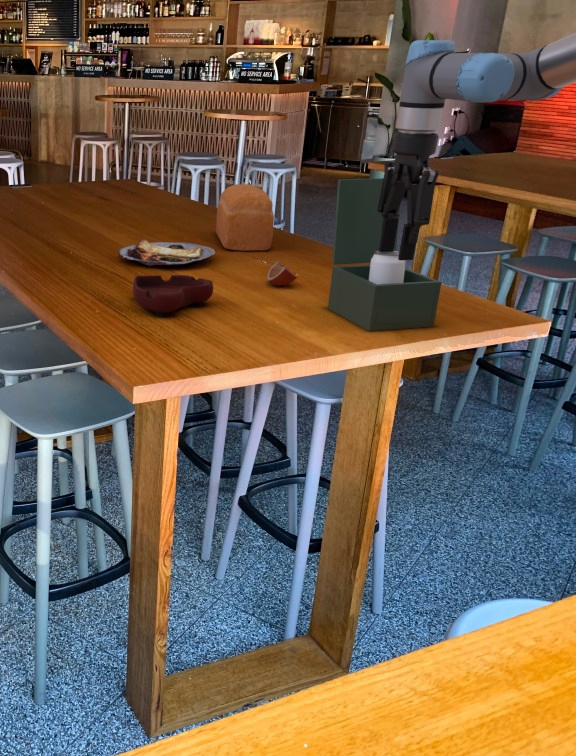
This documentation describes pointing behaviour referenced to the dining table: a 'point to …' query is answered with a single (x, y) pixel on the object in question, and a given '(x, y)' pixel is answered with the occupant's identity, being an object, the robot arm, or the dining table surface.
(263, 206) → the bread
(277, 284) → the fruit slice
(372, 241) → the lid
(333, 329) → the dining table surface
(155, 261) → the food plate
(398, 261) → the can
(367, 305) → the chest
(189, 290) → the ashtray
